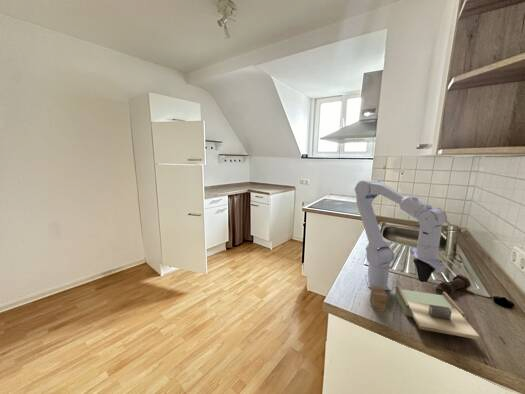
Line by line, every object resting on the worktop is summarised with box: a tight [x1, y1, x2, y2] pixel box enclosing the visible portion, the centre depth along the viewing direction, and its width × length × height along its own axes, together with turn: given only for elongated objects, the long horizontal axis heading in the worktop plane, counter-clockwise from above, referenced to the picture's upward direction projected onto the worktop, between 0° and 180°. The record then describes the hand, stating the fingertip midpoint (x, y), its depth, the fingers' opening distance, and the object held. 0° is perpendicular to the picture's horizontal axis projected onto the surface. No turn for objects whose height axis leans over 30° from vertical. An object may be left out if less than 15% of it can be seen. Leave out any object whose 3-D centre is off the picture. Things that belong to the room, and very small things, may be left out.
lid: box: [407, 301, 481, 340], centre depth 69 cm, size 12×14×4 cm
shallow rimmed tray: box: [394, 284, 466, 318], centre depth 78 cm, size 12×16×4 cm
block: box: [369, 286, 388, 312], centre depth 79 cm, size 5×4×6 cm
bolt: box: [435, 274, 472, 296], centre depth 88 cm, size 6×5×15 cm
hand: (422, 280), depth 77 cm, fingers closed
